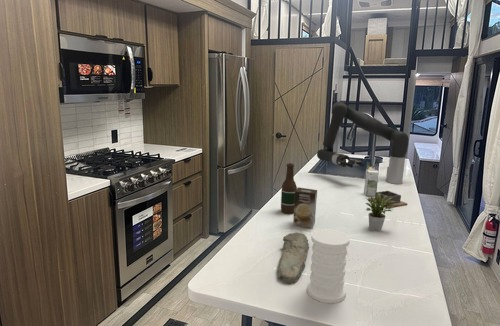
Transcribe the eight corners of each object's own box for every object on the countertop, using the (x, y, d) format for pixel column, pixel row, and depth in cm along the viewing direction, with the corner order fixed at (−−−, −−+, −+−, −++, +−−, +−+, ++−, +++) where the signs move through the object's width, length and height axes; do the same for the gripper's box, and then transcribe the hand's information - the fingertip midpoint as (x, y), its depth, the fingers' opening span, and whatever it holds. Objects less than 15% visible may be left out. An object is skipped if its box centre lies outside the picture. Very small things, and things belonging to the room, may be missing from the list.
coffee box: (292, 225, 157) (294, 191, 154) (295, 220, 163) (297, 187, 160) (313, 228, 154) (315, 193, 151) (315, 223, 160) (317, 189, 157)
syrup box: (373, 193, 207) (376, 169, 203) (376, 196, 201) (378, 171, 198) (363, 193, 207) (366, 168, 204) (365, 196, 201) (368, 171, 198)
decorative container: (316, 277, 116) (320, 225, 112) (351, 289, 109) (356, 235, 105) (300, 293, 106) (303, 237, 103) (336, 308, 100) (341, 249, 96)
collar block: (367, 201, 195) (368, 191, 194) (387, 198, 200) (388, 188, 199) (387, 209, 182) (388, 199, 181) (407, 206, 188) (408, 196, 187)
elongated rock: (270, 285, 113) (301, 292, 111) (271, 271, 112) (303, 277, 110) (285, 235, 146) (310, 240, 144) (287, 224, 144) (311, 228, 142)
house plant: (374, 238, 146) (378, 200, 143) (350, 226, 158) (354, 191, 155) (398, 232, 153) (403, 196, 149) (374, 221, 165) (377, 187, 161)
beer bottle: (298, 210, 177) (300, 163, 171) (293, 215, 170) (295, 166, 164) (283, 207, 180) (285, 161, 174) (277, 212, 173) (279, 164, 168)
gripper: (332, 154, 221) (349, 159, 207) (350, 153, 227) (368, 158, 213) (330, 166, 223) (348, 172, 208) (348, 164, 229) (366, 170, 214)
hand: (358, 165), depth 211 cm, fingers open, 8 cm apart
